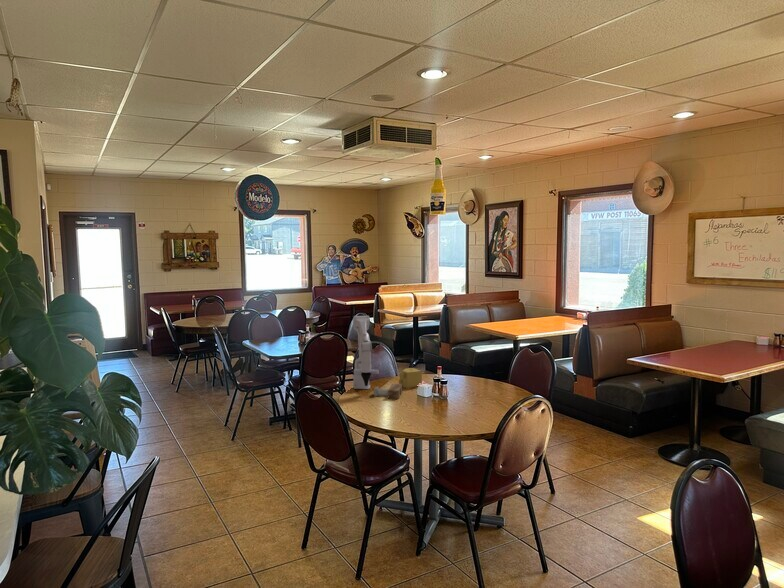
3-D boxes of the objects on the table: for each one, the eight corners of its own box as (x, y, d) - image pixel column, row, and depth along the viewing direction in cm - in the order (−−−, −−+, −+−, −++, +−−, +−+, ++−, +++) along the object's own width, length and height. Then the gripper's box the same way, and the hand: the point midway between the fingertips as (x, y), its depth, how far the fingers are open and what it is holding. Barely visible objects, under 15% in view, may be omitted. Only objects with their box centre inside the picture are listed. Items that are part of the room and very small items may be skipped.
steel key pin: (373, 396, 312) (373, 389, 312) (375, 393, 318) (375, 386, 318) (396, 397, 310) (396, 389, 310) (397, 394, 316) (397, 387, 316)
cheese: (398, 384, 337) (398, 369, 336) (413, 382, 342) (413, 367, 341) (407, 388, 328) (407, 372, 327) (422, 386, 333) (422, 370, 332)
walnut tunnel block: (388, 398, 307) (388, 390, 306) (392, 392, 321) (392, 384, 320) (398, 399, 306) (398, 390, 305) (402, 392, 320) (402, 384, 319)
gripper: (352, 363, 311) (352, 386, 312) (377, 364, 309) (377, 387, 310) (355, 361, 318) (355, 383, 319) (379, 361, 316) (379, 384, 317)
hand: (366, 385), depth 315 cm, fingers closed
